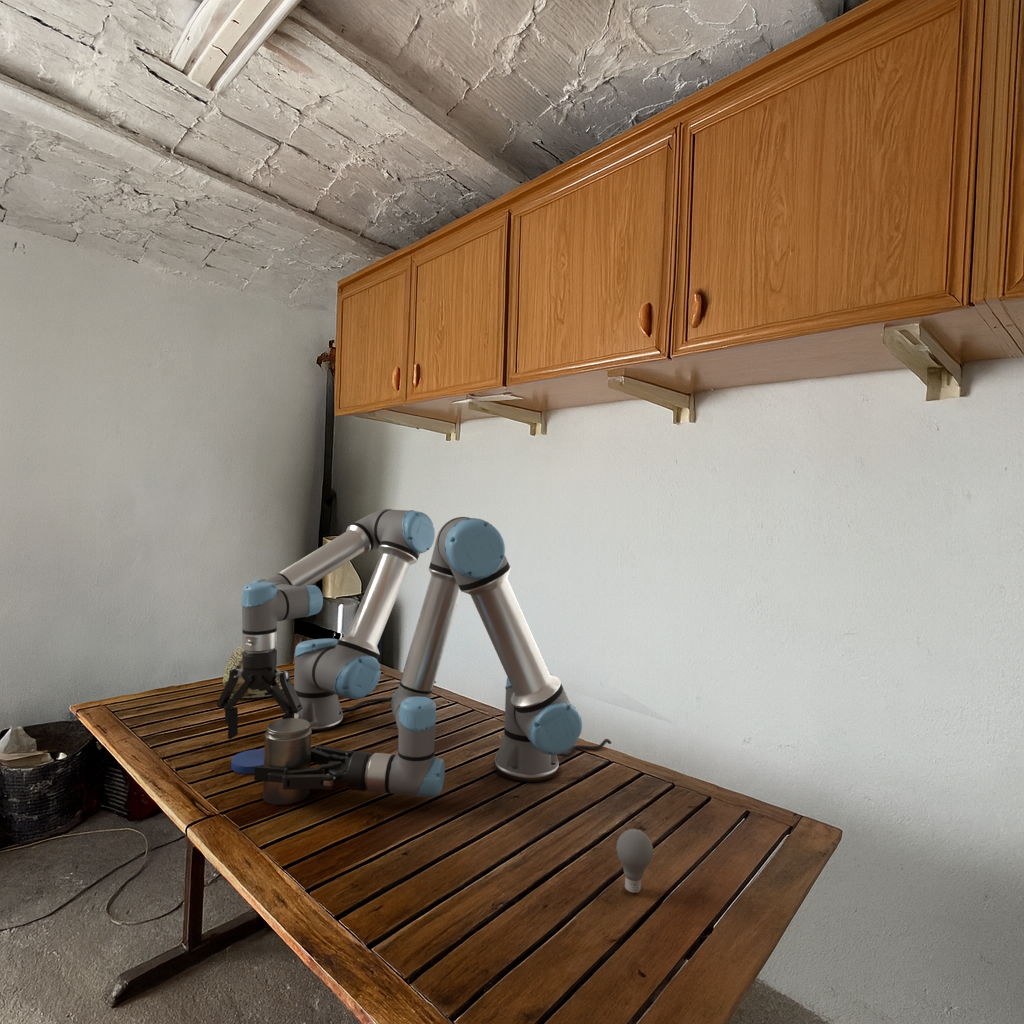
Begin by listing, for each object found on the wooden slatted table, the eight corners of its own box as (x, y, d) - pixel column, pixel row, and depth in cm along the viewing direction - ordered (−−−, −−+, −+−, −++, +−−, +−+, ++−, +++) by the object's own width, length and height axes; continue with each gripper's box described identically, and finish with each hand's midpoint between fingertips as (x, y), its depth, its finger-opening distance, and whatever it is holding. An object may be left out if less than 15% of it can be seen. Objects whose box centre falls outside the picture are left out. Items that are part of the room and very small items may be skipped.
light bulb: (610, 879, 108) (613, 822, 108) (644, 879, 109) (647, 822, 109) (619, 902, 102) (622, 840, 102) (655, 901, 103) (658, 840, 103)
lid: (282, 756, 153) (283, 749, 153) (268, 774, 143) (268, 767, 143) (241, 755, 153) (241, 748, 153) (223, 773, 143) (224, 765, 143)
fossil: (218, 695, 195) (220, 647, 195) (278, 685, 208) (279, 640, 207) (228, 703, 189) (230, 653, 188) (289, 692, 201) (290, 645, 201)
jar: (259, 806, 129) (261, 734, 128) (266, 786, 138) (268, 718, 137) (307, 803, 131) (309, 732, 130) (311, 783, 140) (313, 716, 139)
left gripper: (200, 650, 146) (200, 740, 147) (302, 657, 142) (301, 749, 143) (220, 642, 153) (220, 728, 154) (317, 648, 149) (316, 736, 150)
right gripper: (350, 815, 121) (239, 805, 124) (384, 767, 143) (289, 759, 145) (352, 776, 121) (240, 766, 123) (386, 734, 143) (290, 727, 145)
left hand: (259, 739), depth 149 cm, fingers open, 13 cm apart
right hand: (267, 762), depth 134 cm, fingers closed on jar, 9 cm apart
